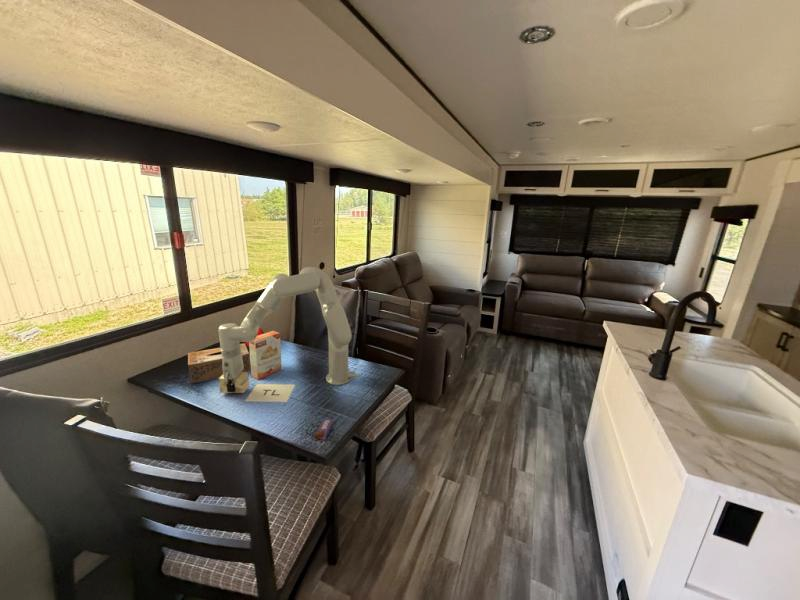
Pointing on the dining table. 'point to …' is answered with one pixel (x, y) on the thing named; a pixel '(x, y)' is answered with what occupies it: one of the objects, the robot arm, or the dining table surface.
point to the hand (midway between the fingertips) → (234, 387)
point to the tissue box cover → (211, 364)
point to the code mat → (270, 393)
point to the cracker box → (265, 354)
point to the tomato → (257, 335)
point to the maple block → (239, 381)
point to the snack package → (324, 429)
